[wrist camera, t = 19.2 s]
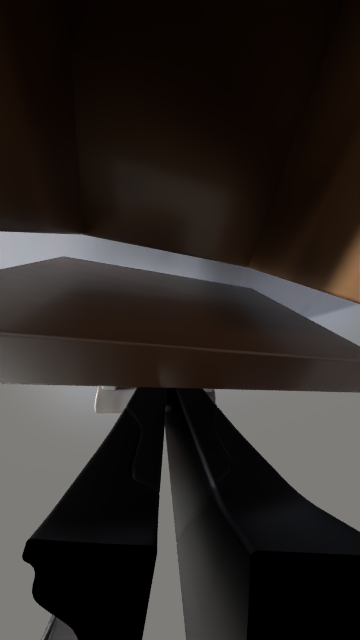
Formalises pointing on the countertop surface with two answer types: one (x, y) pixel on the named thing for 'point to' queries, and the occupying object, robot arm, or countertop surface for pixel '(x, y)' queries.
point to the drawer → (179, 189)
